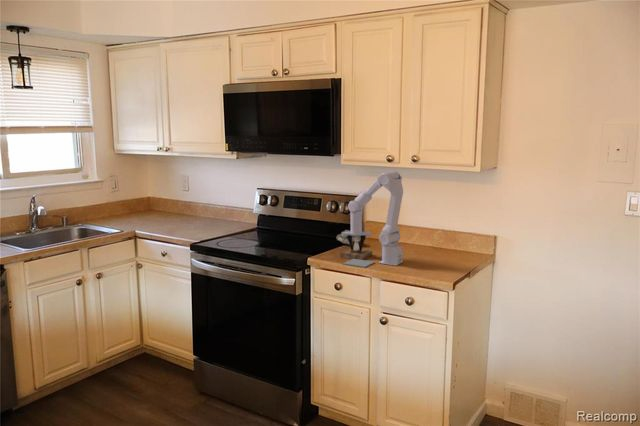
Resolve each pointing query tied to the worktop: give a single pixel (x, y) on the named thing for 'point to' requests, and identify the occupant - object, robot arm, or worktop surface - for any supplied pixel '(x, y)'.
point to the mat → (359, 263)
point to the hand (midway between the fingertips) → (356, 250)
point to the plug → (356, 246)
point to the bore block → (356, 254)
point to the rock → (344, 239)
